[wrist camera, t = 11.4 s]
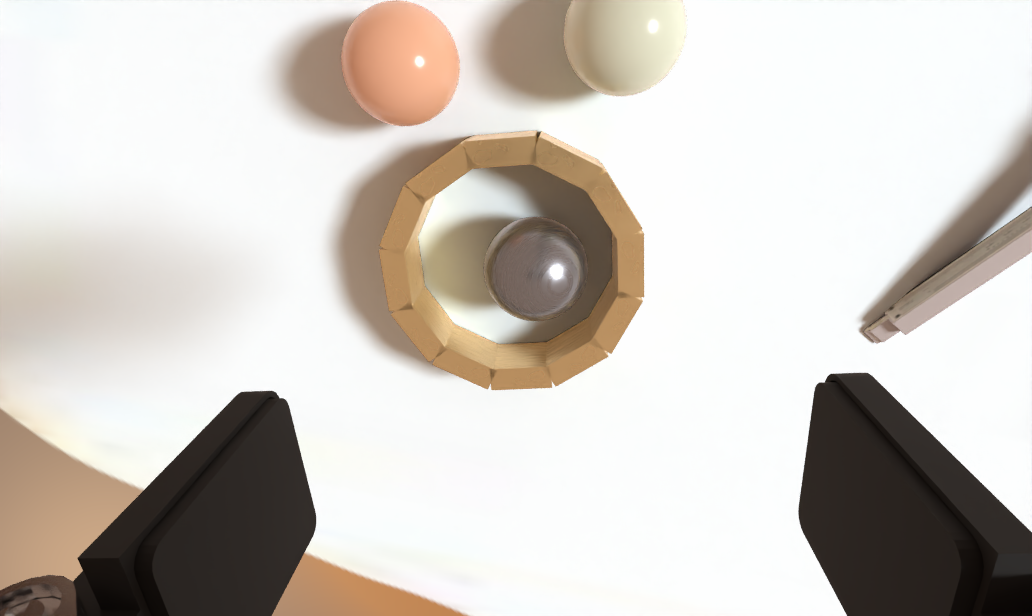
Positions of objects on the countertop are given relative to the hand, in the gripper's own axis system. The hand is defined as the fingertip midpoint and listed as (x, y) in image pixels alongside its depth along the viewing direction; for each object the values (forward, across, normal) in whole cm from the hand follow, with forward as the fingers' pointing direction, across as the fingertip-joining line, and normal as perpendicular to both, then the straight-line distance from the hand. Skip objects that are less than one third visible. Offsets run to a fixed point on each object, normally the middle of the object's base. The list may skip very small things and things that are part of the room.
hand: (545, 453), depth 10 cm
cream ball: (+18, -3, -8) cm, 20 cm away
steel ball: (+18, +1, +3) cm, 18 cm away
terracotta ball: (+18, +6, -7) cm, 21 cm away
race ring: (+21, +2, +3) cm, 21 cm away
